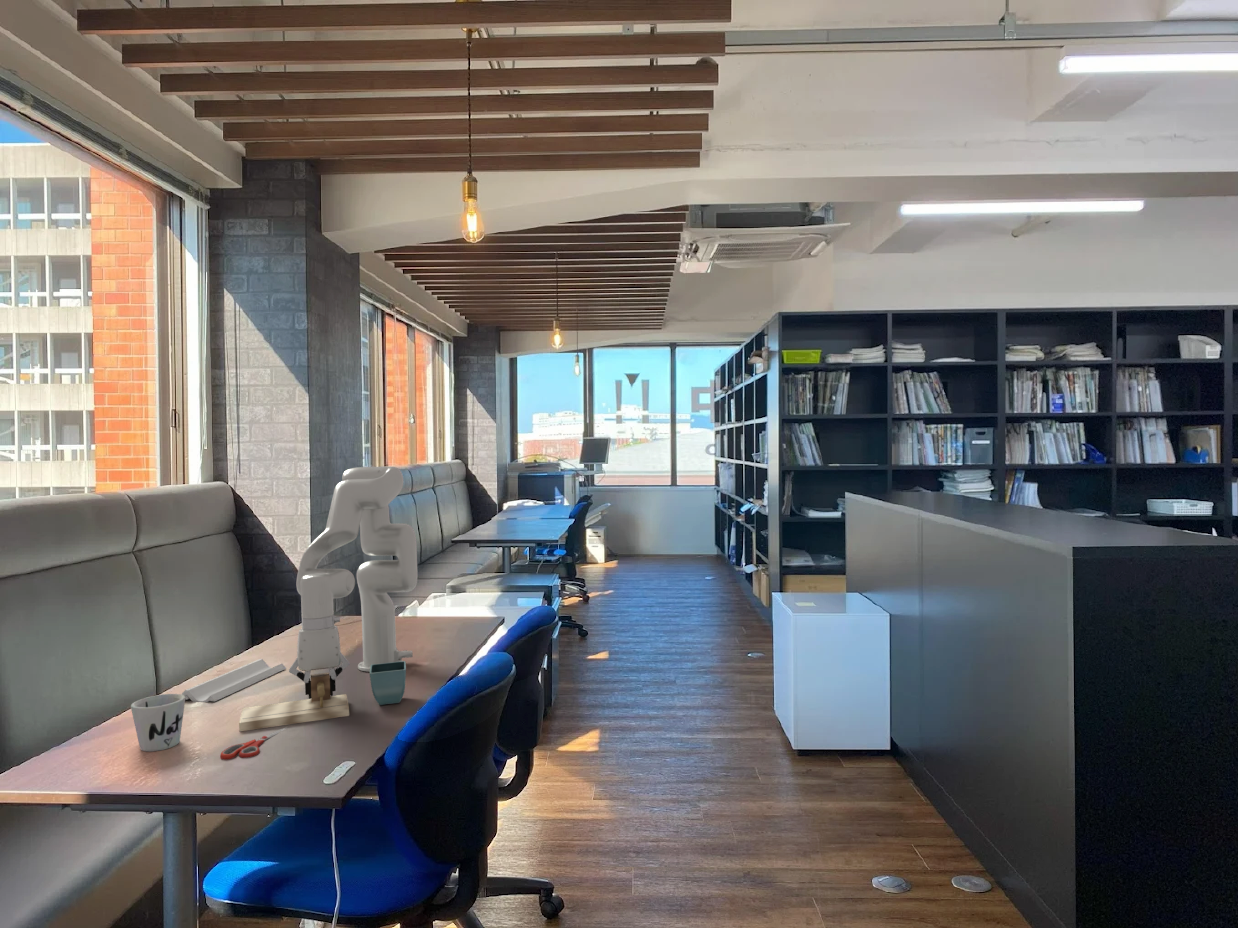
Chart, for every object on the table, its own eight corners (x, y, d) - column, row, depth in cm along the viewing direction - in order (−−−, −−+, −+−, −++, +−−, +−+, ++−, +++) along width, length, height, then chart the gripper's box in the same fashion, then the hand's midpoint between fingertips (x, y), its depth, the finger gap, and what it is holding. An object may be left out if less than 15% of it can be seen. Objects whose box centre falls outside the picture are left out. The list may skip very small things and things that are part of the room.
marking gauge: (330, 700, 203) (328, 671, 202) (331, 715, 191) (330, 683, 191) (311, 702, 201) (310, 673, 201) (312, 717, 189) (311, 686, 189)
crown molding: (214, 704, 206) (213, 690, 206) (173, 704, 208) (173, 690, 208) (286, 671, 237) (285, 658, 237) (249, 670, 239) (249, 658, 239)
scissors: (295, 726, 186) (295, 720, 186) (251, 761, 165) (251, 754, 165) (262, 727, 186) (262, 720, 186) (215, 762, 166) (215, 755, 165)
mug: (148, 757, 168) (146, 710, 168) (112, 745, 176) (110, 700, 176) (196, 741, 177) (195, 697, 177) (160, 731, 185) (158, 688, 185)
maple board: (346, 701, 203) (346, 693, 203) (349, 715, 191) (348, 707, 191) (242, 715, 194) (242, 707, 194) (239, 731, 183) (238, 722, 183)
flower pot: (370, 709, 196) (369, 672, 196) (371, 698, 205) (370, 664, 205) (407, 704, 199) (406, 669, 198) (407, 694, 207) (405, 660, 207)
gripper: (352, 616, 206) (355, 687, 206) (281, 624, 199) (284, 696, 199) (354, 622, 199) (357, 694, 199) (281, 629, 192) (284, 704, 193)
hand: (320, 694), depth 199 cm, fingers closed on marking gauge, 4 cm apart
